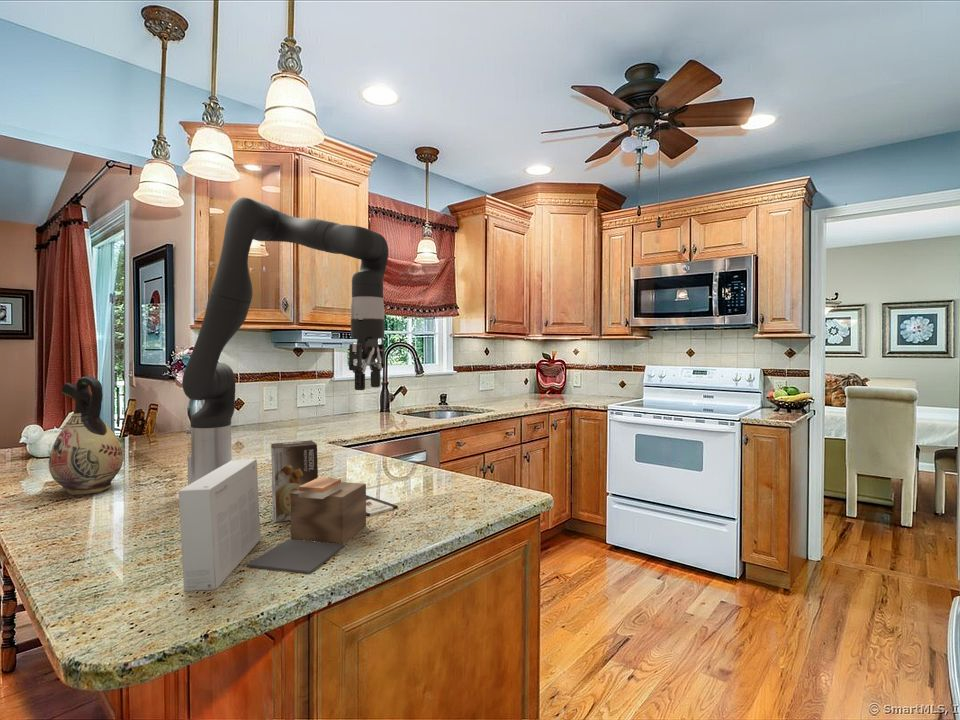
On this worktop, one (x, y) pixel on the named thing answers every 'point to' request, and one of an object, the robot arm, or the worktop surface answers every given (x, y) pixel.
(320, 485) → the tile
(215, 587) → the skincare box
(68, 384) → the ceramic jug
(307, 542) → the mat
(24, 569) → the worktop surface
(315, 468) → the coffee box
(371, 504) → the chocolate bar
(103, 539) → the worktop surface
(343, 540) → the step
